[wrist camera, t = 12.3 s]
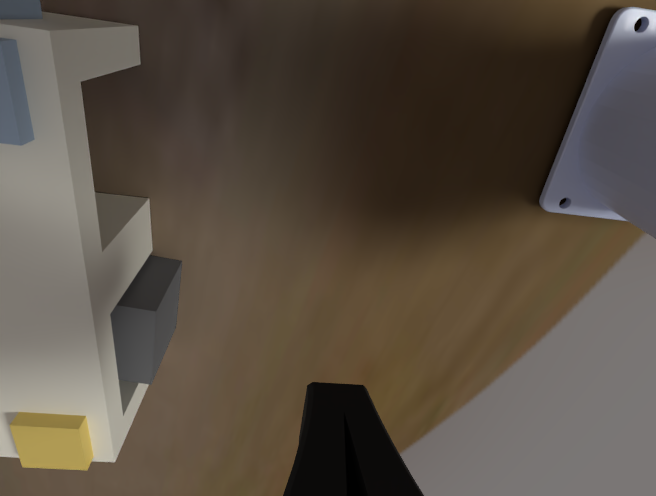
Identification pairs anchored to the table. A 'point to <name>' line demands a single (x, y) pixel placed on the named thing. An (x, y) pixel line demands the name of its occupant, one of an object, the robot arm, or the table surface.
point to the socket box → (61, 244)
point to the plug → (146, 319)
